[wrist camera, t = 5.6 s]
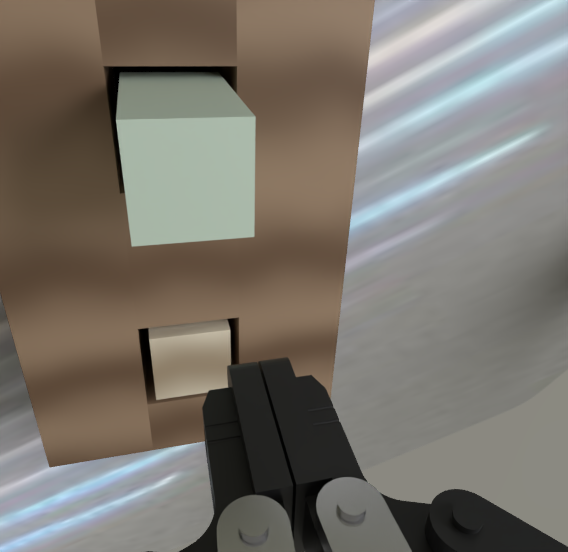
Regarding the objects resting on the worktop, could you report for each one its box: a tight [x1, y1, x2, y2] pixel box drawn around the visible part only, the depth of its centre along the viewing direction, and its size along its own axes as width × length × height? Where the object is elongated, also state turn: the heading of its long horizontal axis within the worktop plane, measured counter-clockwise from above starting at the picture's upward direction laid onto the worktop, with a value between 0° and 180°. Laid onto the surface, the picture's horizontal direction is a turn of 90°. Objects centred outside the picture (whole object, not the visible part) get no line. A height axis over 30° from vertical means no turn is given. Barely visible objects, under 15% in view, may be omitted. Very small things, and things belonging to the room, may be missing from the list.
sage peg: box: [116, 72, 256, 247], centre depth 19 cm, size 4×4×8 cm
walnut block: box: [0, 0, 375, 467], centre depth 27 cm, size 24×16×8 cm, turn 178°
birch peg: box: [149, 319, 231, 400], centre depth 30 cm, size 4×4×8 cm
